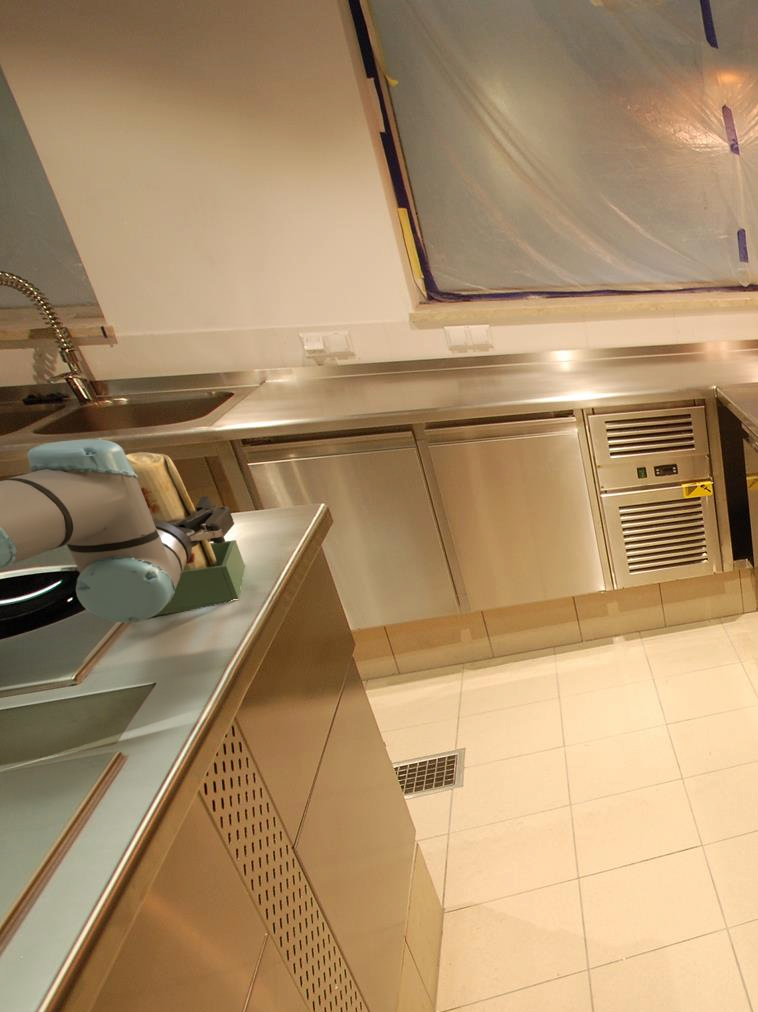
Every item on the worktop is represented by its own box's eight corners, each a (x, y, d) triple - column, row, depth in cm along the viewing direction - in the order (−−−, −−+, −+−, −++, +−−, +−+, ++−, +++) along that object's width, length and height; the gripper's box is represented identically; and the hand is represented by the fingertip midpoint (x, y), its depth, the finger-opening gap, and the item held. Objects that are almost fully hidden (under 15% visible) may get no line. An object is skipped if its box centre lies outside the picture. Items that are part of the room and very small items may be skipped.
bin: (145, 617, 114) (129, 579, 112) (161, 586, 124) (147, 550, 122) (239, 602, 120) (226, 566, 117) (248, 574, 130) (235, 539, 127)
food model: (167, 583, 123) (105, 449, 113) (225, 572, 127) (169, 442, 117) (170, 607, 116) (104, 467, 107) (230, 594, 120) (172, 458, 111)
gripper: (50, 598, 100) (94, 544, 117) (256, 569, 110) (268, 523, 127) (22, 538, 97) (71, 492, 114) (236, 514, 107) (252, 475, 124)
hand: (175, 509), depth 121 cm, fingers closed on food model, 7 cm apart
